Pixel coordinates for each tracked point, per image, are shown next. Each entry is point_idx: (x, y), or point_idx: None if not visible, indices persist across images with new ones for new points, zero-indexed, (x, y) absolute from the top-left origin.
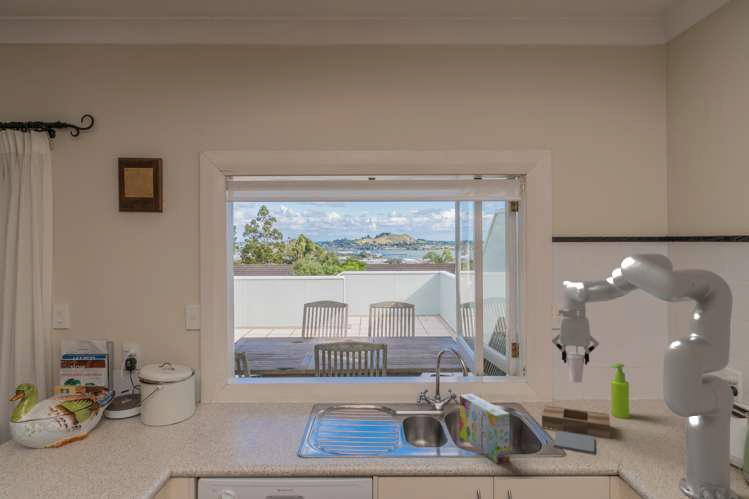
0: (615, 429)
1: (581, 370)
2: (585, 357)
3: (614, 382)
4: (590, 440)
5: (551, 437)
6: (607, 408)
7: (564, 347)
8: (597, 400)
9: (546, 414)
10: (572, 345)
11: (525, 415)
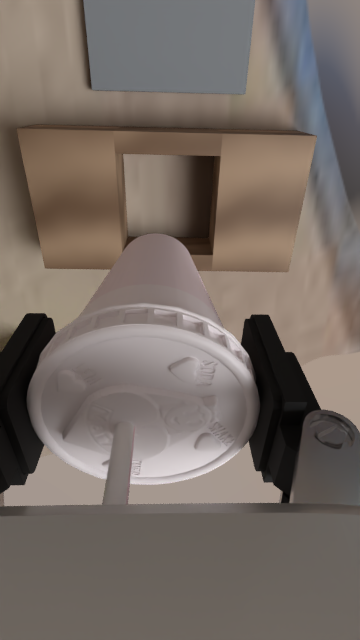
0: (35, 229)
1: (101, 284)
2: (12, 365)
3: None
4: (101, 27)
5: (268, 20)
6: None
7: (320, 479)
8: None
9: (293, 160)
10: (179, 509)
11: (347, 241)
